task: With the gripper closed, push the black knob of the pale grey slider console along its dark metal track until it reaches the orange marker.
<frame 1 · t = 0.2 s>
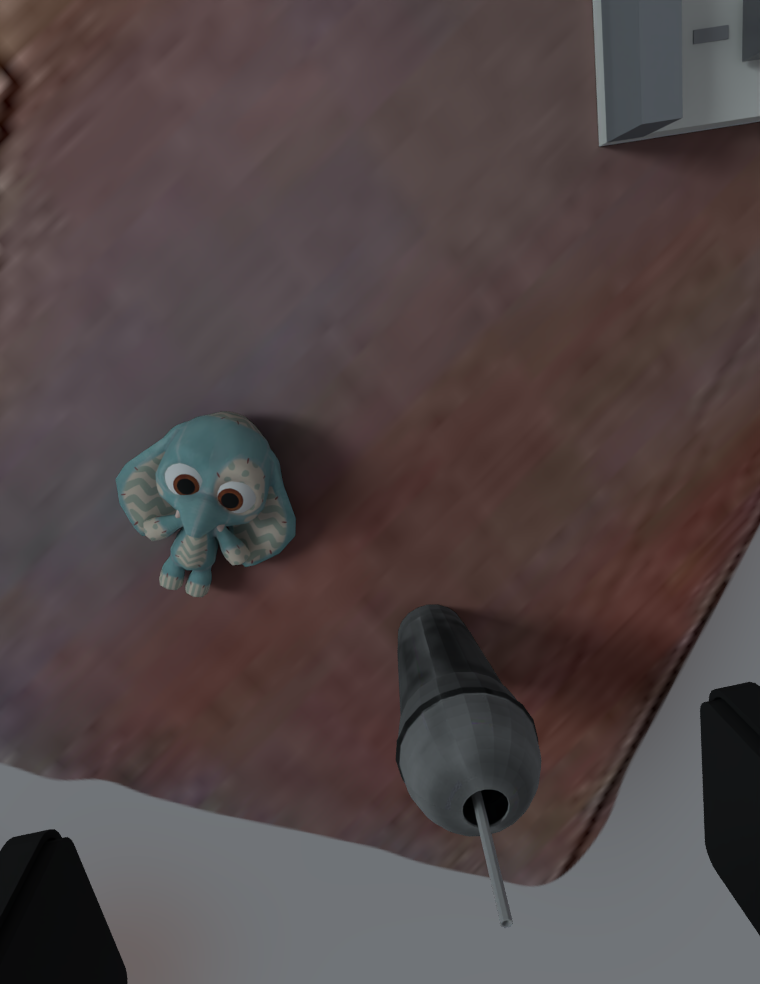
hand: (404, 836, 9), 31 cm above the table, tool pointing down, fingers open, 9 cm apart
beverage cup: (430, 633, 44), on the table
stuffed animal: (214, 495, 40), on the table
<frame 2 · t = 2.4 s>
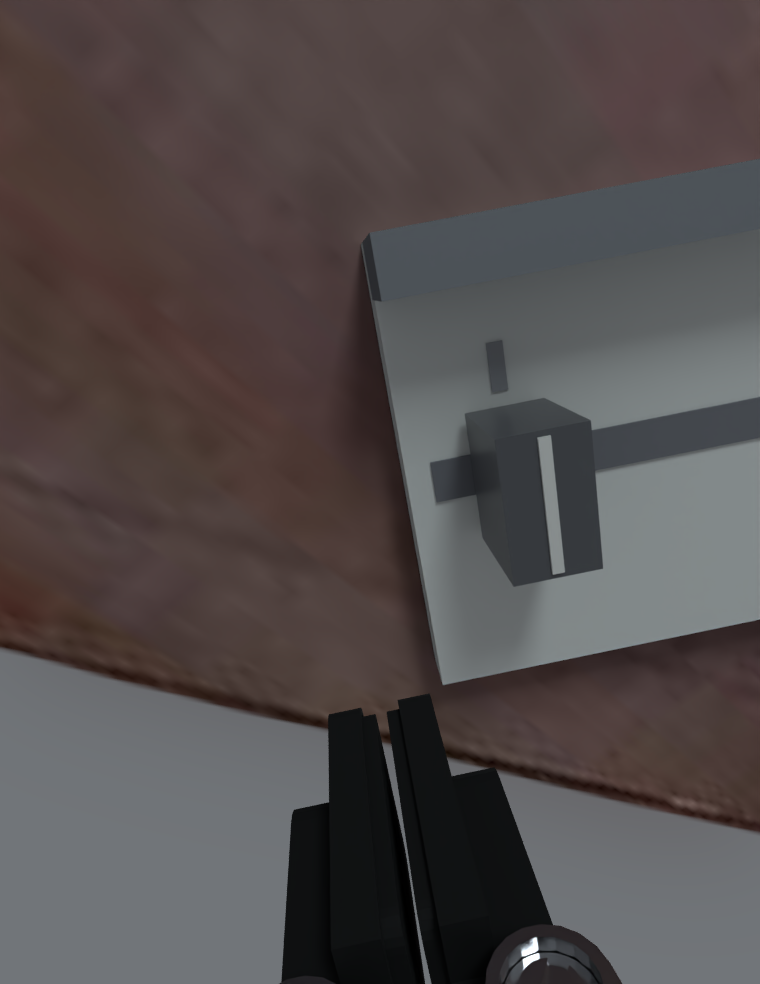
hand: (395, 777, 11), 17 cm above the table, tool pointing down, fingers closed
fader knob: (530, 487, 22), point 5 cm above the table, slide at 0.0 cm
console: (636, 426, 27), on the table
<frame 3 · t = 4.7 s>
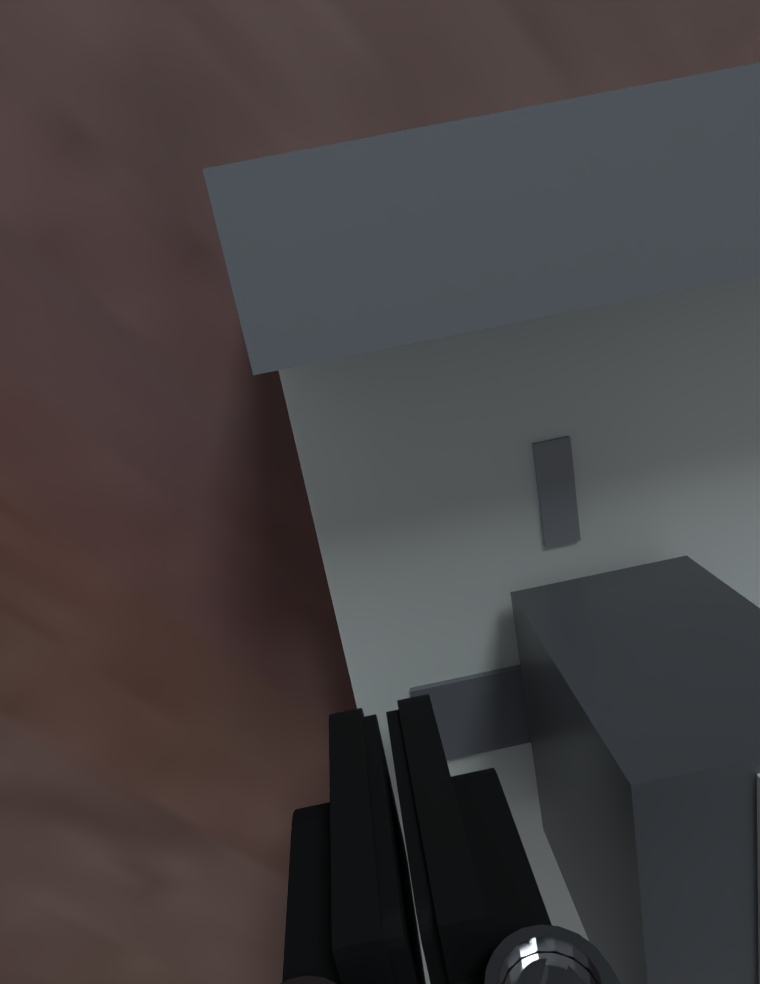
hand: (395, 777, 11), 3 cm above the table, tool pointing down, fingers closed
fader knob: (676, 794, 9), point 5 cm above the table, slide at 0.4 cm, touching gripper
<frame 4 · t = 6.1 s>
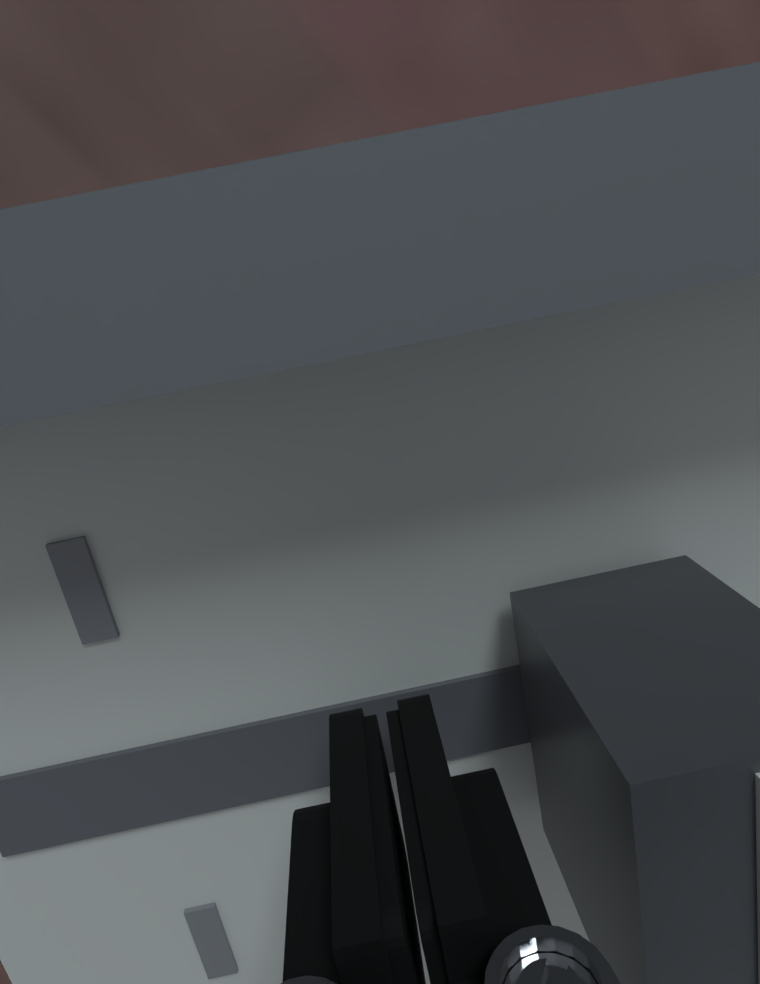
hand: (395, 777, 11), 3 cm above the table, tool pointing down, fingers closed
fader knob: (675, 793, 9), point 5 cm above the table, slide at 8.3 cm, touching gripper
console: (457, 653, 14), on the table
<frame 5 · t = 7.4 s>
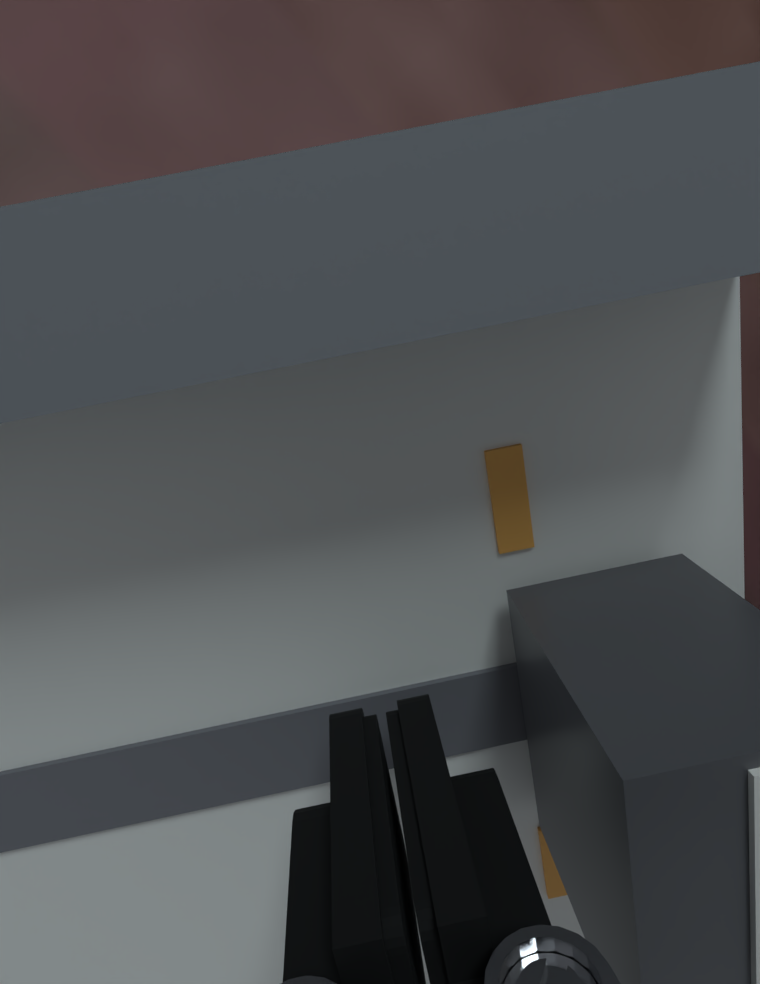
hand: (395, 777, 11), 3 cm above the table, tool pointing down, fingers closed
fader knob: (670, 790, 9), point 5 cm above the table, slide at 13.2 cm, touching gripper
console: (229, 699, 14), on the table
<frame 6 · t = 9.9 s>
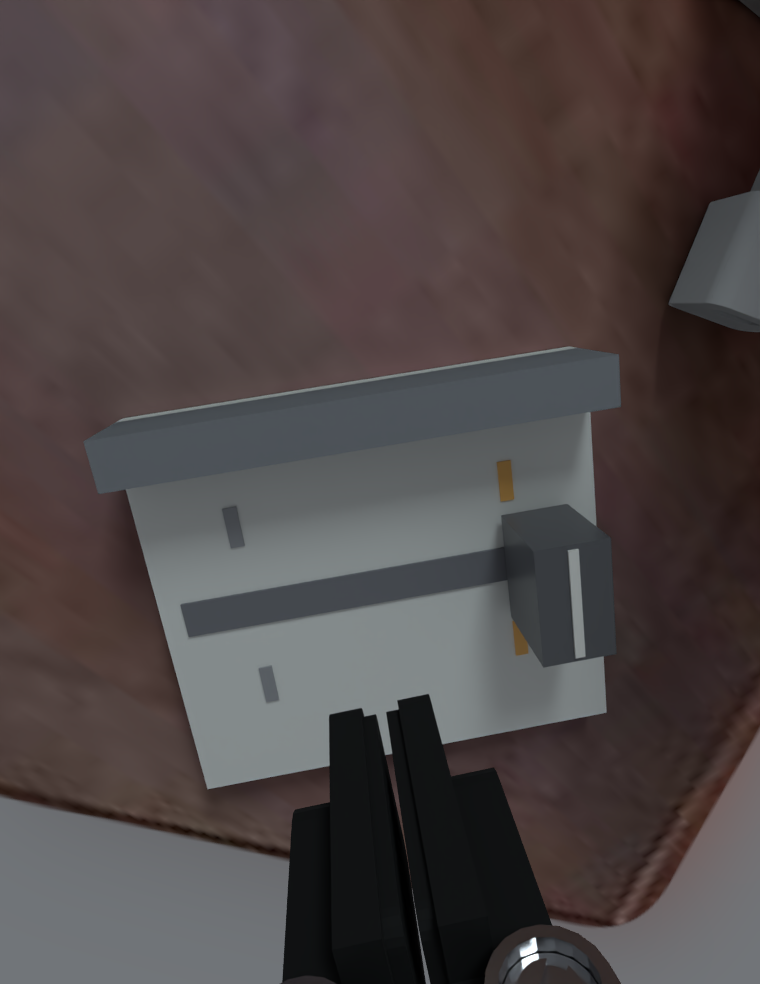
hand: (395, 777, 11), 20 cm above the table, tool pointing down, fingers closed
usb wall charger: (730, 240, 29), on the table
fader knob: (556, 581, 27), point 5 cm above the table, slide at 13.1 cm
console: (379, 567, 31), on the table
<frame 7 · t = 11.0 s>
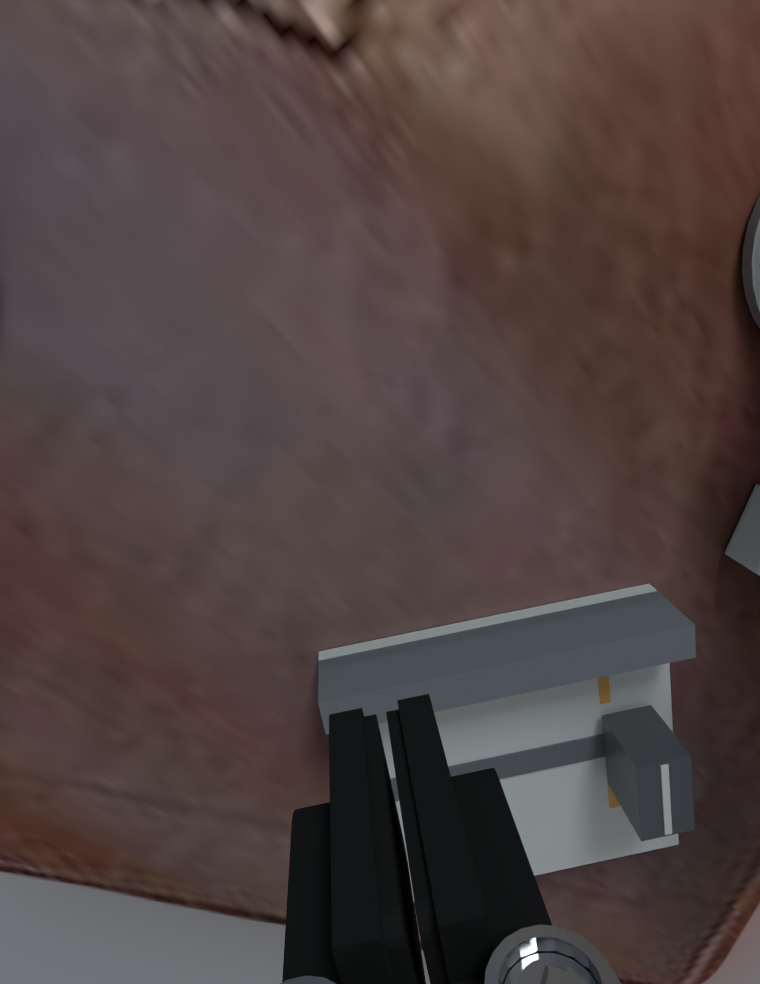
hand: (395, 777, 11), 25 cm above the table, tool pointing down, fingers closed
fader knob: (646, 771, 37), point 5 cm above the table, slide at 13.1 cm
console: (503, 742, 41), on the table
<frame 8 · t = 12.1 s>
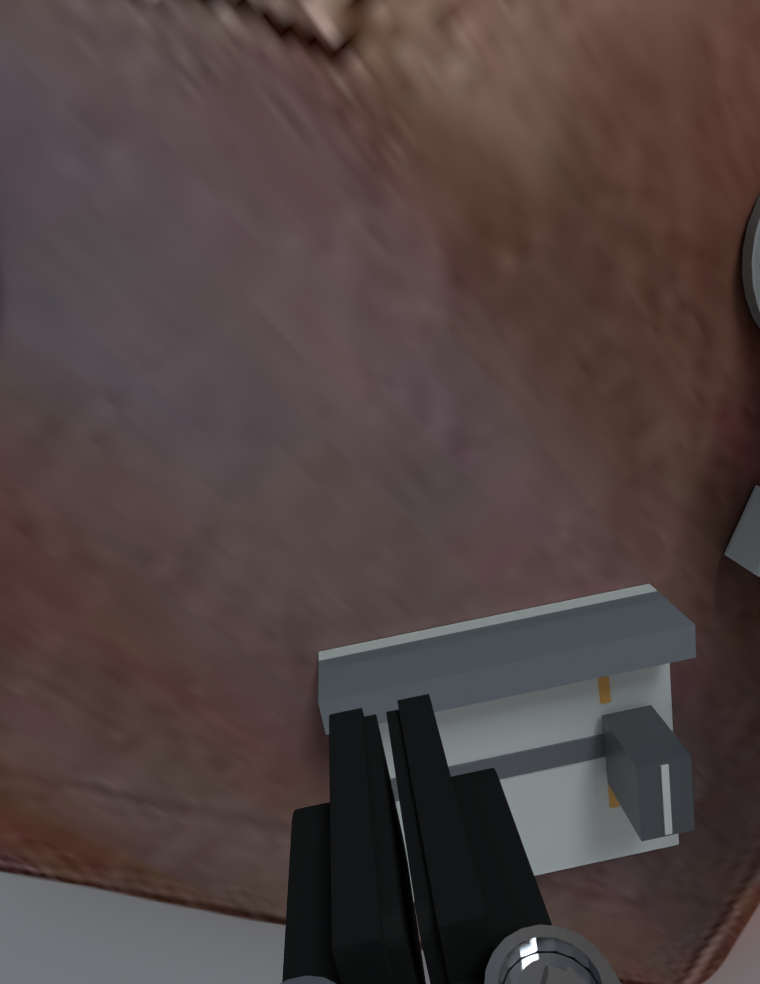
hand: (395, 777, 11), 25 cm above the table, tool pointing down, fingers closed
fader knob: (646, 771, 37), point 5 cm above the table, slide at 13.1 cm
console: (503, 742, 41), on the table
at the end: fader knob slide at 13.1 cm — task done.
